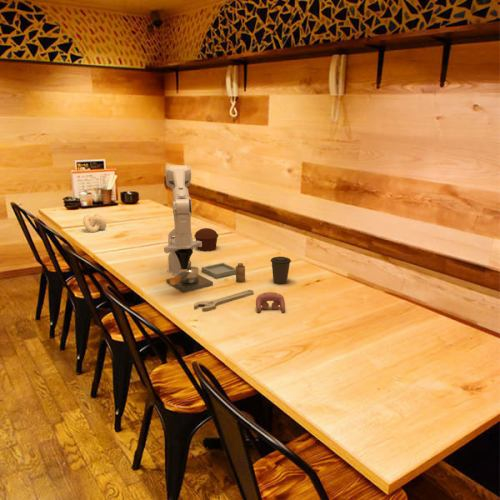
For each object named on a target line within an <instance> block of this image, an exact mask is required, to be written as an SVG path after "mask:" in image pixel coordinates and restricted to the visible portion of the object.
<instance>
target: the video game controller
mask: <svg viewBox="0 0 500 500" xmlns="http://www.w3.org/2000/svg"><path fill="white" fill-rule="evenodd" d="M268 302H272V303H271V308H272V309H273V310H276V309H278V308H279V306H280V311H281V313H285V312H286V302H285V298H284V296H283V295H282V294H281V293H277V292H275V291H274V292H272V291H270V292H269V291H268V292H263V293H260V294H258V295H257V297H256V299H255V307H256V309H255V310H256V312H257V313H258V314H259V313H260V312H261V308H262V309H263V310H268V309H269V308H270V304H269V303H268Z"/></svg>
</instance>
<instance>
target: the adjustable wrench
mask: <svg viewBox="0 0 500 500" xmlns="http://www.w3.org/2000/svg"><path fill="white" fill-rule="evenodd" d="M254 294H255V291H254V290H253V289H247V290H244V291H241V292H236V293H234V294H231V295H227V296H224V297H220V298H217V299H213V300H203V301H197V302H195V303H194V304H193V309H194V310H195V311H196V310H197V309H199V308H201V311H202V312H203V313H205V312H211V311H215V309H217V306H219V305H223V304H226V303H230V302H233V301H237V300H239V299H242V298H246V297H247V298H248V297H249V296H253V295H254Z"/></svg>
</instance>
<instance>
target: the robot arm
mask: <svg viewBox="0 0 500 500" xmlns="http://www.w3.org/2000/svg"><path fill="white" fill-rule="evenodd" d="M164 169H165V171H164V172H165V181H166V182H165V183H166V186H167V187H168V188H170V189H171V191H172V198H173V199H172V214H173V221H174V228H173V229H172V230H171V231H169V233H168V234H167V240H168V241H167V242H168V243H167V244H168V245H167V246H164V247H163V252H164V253H165V254H168V256H167V257H168V259H167V263H168V269H167V270H166V272H168V273H170V274H171V275H173V276H174V277H175V276H177V275H178V274H180V269H181V268H182V269H187V266H188V262H189V261H191V256H192V255H193V253H194V248H197V247H202V242H201V241H196V240H194V238H193V232H192V220H191V219H192V216H191V215H192V213H193V202H192V199H191V197H190V191H189V188H188V187H190V185H191V180H192V167H191V165H190V164H184V165H183V164H178V165H177V164H176V165H172V164H171V165H168V164H166V165H165V167H164Z"/></svg>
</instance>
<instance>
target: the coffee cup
mask: <svg viewBox="0 0 500 500" xmlns="http://www.w3.org/2000/svg"><path fill="white" fill-rule="evenodd" d="M291 262H292V259H290V258H289V257H286V256H282V255H281V256H275V257H274V256H273V257H272V258H271V259H270V263H271V271H272V281H273V284H276V285H286V284H287V282H288V278H289V277H288V276H289V271H290V264H291Z"/></svg>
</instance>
